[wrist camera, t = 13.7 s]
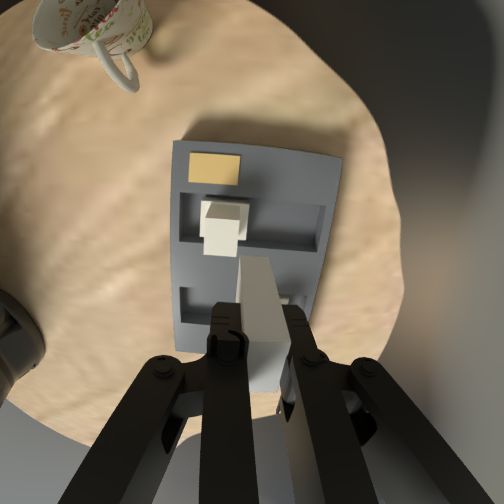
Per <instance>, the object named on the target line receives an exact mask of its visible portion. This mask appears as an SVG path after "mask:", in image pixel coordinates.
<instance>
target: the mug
mask: <svg viewBox="0 0 504 504" xmlns="http://www.w3.org/2000/svg"><path fill="white" fill-rule="evenodd" d="M152 29H153V23H152V19H151V16H150V14H149V12H148V9H147V7H146V5H145V2H144V0H41V2H40V4H39V6H38V8H37V10H36V12H35V15H34V18H33V22H32V36H33V39H34V41H35V43H36V44H37V45H38V46H39V47H40V48H42V49H44V50H47V51H52V52H60V53H69V54H77V55H84V56H91V57H97V58H99V60H100V62H101V64H102V66H103V68H104V69H105V71H106V72H107V73H108V75H109V76H110V77H111V78H112V79H113V80H114V81H115V82H116V83H117V84H118V85H119V86H120V87H121V88H122V89H123V90H125V91H126V92H129V93H136V92H137V91H138V90H139V88H140V84H139V79H138V74H137V71H136V69H135V68H134V66H133V64H132V63H131V61H130V59H129V58H128V57H130V56H132V55H134V54H135V53H137V52H138V51H139V50H141V49H142V48H143V47H144V45H145V44H146V43H147V42H148V40H149V38H150V36H151V33H152ZM113 60H122V61H123V64H124V66H125V69H126V72H127V75H128V78H129V79H128V78H127V77H126V76H124V75H123V73H122V72H121V71H120V70H119V69H118V67H117V66H116V65H115V63H114V62H113Z"/></svg>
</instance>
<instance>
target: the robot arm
mask: <svg viewBox="0 0 504 504" xmlns="http://www.w3.org/2000/svg"><path fill="white" fill-rule="evenodd" d="M44 354H45V346H44V342H43V339H42V336H41V334H40V332H39V330H38V328H37V327H36V325H35V323H34V322H33V320H32V319H31V317H30V316H29V315H28V313H27V312H26V311H25V310H24V308H23V307H22V306H21V305H20V304H19V303H18V302H17V301H16V300H15V299H14V298H12V297H11V296H10V295H9V294H7V293H6V292H4V291H2V290H0V408H1V406H2V404H3V402H4V400H5V399H6V397H7V395H8V393H9V392H10V390H11V388H12V386H13V385H14V383H15V382H16V381H17V380H18V379H20V378H21V377H22V376H24V375H25V374H26V373H28V372H29V371H30V370H31V369H34V368H35V367H37V366H38V364H39V363H40V361H41V360H42V358H43V357H44ZM279 385H280V388H281V396H280V400H279V403H278V406H277V409H276V414H279V412H280V411H281V416H282V423H283V429H284V435H285V442H286V448H287V454H288V460H289V467H290V473H291V479H292V485H293V492H294V498H295V504H379V503H378V500H377V496H376V494H375V490H374V487H373V484H374V485H375V487H376V489H377V490H378V492H379V493H380V495H381V497H382V498H383V500H384V501H385V503H386V504H494V502H493V501H492V500H491V498H490V497H489V496H488V494H487V493H486V492H485V491H484V489H483V488H482V487H481V485H480V484H479V483H478V482H477V480H476V479H475V478H474V476H473V475H472V474H471V472H470V471H469V470H468V469H467V467H466V466H465V465H464V464H463V462H462V461H461V460H460V459H459V457H457V455H456V454H455V452H454V451H453V450H452V449H451V447H450V446H449V445H448V444H447V442H446V441H445V440H444V439H443V438H442V436H441V435H440V434H439V433H438V431H437V430H436V429H435V428H434V427H433V425H432V424H431V423H430V422H429V420H428V419H427V418H426V417H425V416H424V415H423V414H422V412H421V411H420V410H419V408H418V407H417V406H416V405H415V404H414V403H413V401H412V400H411V399H410V398H409V397H408V395H407V394H406V393H405V392H404V391H403V390H402V388H401V387H400V386H399V385H398V384H397V383H396V381H395V380H394V379H393V378H392V377H391V376H390V374H389V373H388V372H387V371H386V370H385V369H384V367H383V366H382V365H381V364H380V363H378V362H377V361H376V360H374V359H371V358H367V357H361V358H357V359H355V360H354V361H353V362H352V364H351V366H350V365H345V364H339V363H335V362H332V361H330V360H329V358H328V356H327V355H326V354H325V353H324V352H323V351H321V350H319V349H318V348H317V345H316V342H315V340H314V337H313V334H312V331H311V329H310V327H309V323H308V321H307V318H306V315H305V312H304V311H303V310H302V309H301V308H300V307H299V306H298V305H290V304H281V302H280V298H279V294H278V290H277V287H276V283H275V279H274V275H273V272H272V268H271V264H270V261H269V257H261V256H247V255H240V259H239V270H238V280H237V291H236V303H231V302H217V303H216V304H215V305H214V306H213V308H212V313H211V324H210V333H209V335H208V337H207V353H206V354H205V355H204V356H203V357H202V358H200V359H198V360H196V361H193V362H188V363H181V362H180V361H179V360H178V359H176V358H174V357H172V356H167V355H160V356H155V357H153V358H151V359H149V360H148V361H147V362H146V363H145V364H144V366H143V367H142V369H141V370H140V372H139V373H138V375H137V376H136V378H135V379H134V381H133V383H132V384H131V386H130V387H129V389H128V390H127V392H126V393H125V395H124V396H123V398H122V399H121V401H120V403H119V404H118V406H117V407H116V409H115V410H114V412H113V413H112V415H111V417H110V418H109V420H108V421H107V423H106V424H105V426H104V428H103V429H102V431H101V432H100V434H99V436H98V437H97V439H96V440H95V442H94V444H93V445H92V447H91V448H90V450H89V452H88V453H87V455H86V457H85V458H84V460H83V462H82V463H81V465H80V467H79V468H78V470H77V472H76V473H75V475H74V477H73V478H72V480H71V482H70V483H69V485H68V487H67V489H66V490H65V492H64V493H63V495H62V497H61V499H60V500H59V502H58V504H152V502H153V499H154V497H155V495H156V492H157V490H158V488H159V485H160V483H161V481H162V478H163V476H164V474H165V471H166V469H167V467H168V464H169V462H170V460H171V457H172V455H173V453H174V450H175V448H176V446H177V443H178V441H179V439H180V436H181V434H182V432H183V429H184V427H185V425H186V422H187V420H188V418H189V417H195V416H200V415H202V429H201V450H200V475H199V504H259V497H258V486H257V476H256V465H255V454H254V442H253V430H252V418H251V406H250V393H249V392H278V389H279ZM372 483H373V484H372Z"/></svg>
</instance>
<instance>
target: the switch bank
mask: <svg viewBox="0 0 504 504" xmlns="http://www.w3.org/2000/svg"><path fill="white" fill-rule="evenodd" d="M342 162H343V159H342V158H339V157H335V156H331V155H325V154H319V153H313V152H307V151H301V150H294V149H287V148H279V147H271V146H262V145H253V144H242V143H230V142H216V141H198V140H175V141H173V152H172V171H171V198H170V264H171V292H172V310H173V325H174V338H175V349H176V351H181V352H190V353H200V354H206V353H207V337H208V335H209V333H210V324H211V313H212V308H213V306H214V305H215V304H216V303H217V302H231V303H236V291H237V280H238V270H239V259H240V255H247V256H261V257H269V261H270V264H271V268H272V272H273V275H274V279H275V283H276V287H277V290H278V294H287V295H288V298H289V301H288V304H290V305H298V306H299V307H300V308H301V309H302V310H303V311H304V312H305V315H306V318H307V321H309V318H310V314H311V310H312V306H313V302H314V298H315V295H316V291H317V287H318V282H319V278H320V274H321V270H322V266H323V261H324V257H325V252H326V248H327V243H328V238H329V234H330V229H331V224H332V219H333V214H334V208H335V203H336V198H337V192H338V186H339V180H340V174H341V168H342ZM203 197H214V198H227V199H239V200H249V214H248V223H247V233H246V240H238V243H237V254H236V257H228V256H215V255H203V254H204V237H200V216H201V200H202V199H203Z"/></svg>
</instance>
